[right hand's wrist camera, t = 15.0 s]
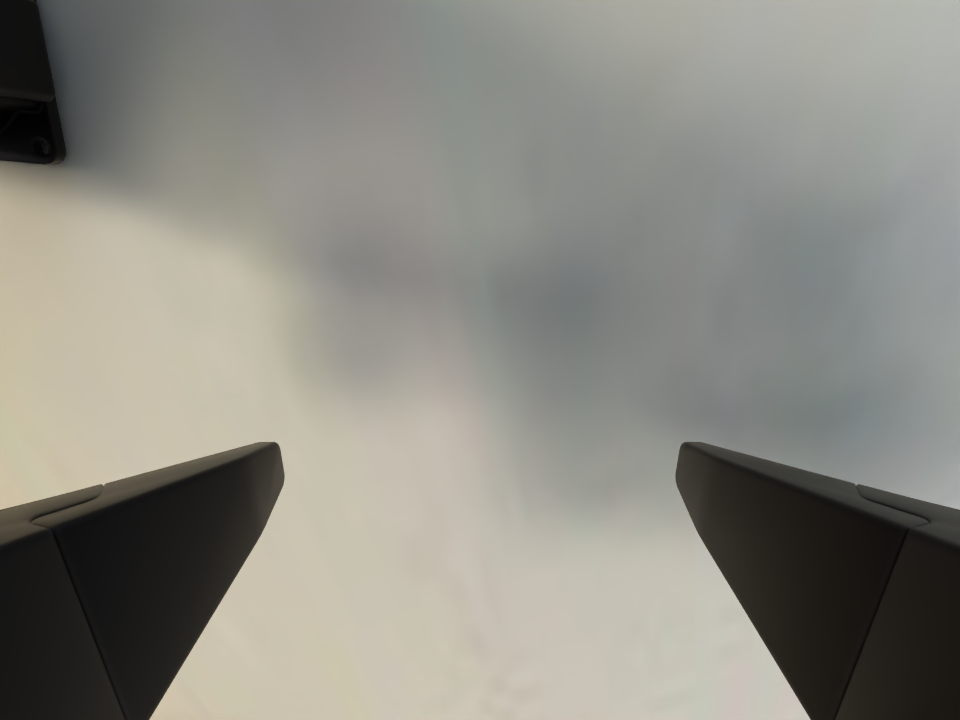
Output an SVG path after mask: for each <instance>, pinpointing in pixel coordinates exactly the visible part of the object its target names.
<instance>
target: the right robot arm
mask: <svg viewBox="0 0 960 720" xmlns="http://www.w3.org/2000/svg"><path fill="white" fill-rule="evenodd" d="M43 141H44V142H45V143H46V144H47V146H48V148H49V150H48V154H46V153H45V152H44V150H43V148H42V142H43ZM65 156H66V149H65V144H64V139H63V134H62V129H61V123H60V118H59V113H58V108H57V103H56V98H55V90H54V85H53V80H52V75H51V70H50V65H49V60H48V55H47V50H46V45H45V40H44V35H43V30H42V25H41V20H40V15H39V10H38V6H37V3H36V0H0V160H4V161H15V162H26V163H37V164H58V163H60V162H62V161H63V160H64V158H65ZM283 484H284V469H283V463H282V457H281V451H280V447H279V445H278V444H277V443H276V442H258V443H254V444H251V445H247V446H243V447H240V448H236V449H232V450H228V451H225V452H221V453H217V454H214V455H210V456H206V457H202V458H199V459H195V460H191V461H188V462H184V463H180V464H177V465H173V466H169V467H165V468H162V469H158V470H154V471H151V472H147V473H143V474H140V475H136V476H132V477H128V478H125V479H121V480H117V481H114V482H110V483H106V484H105V485H104V486H103V485H102V484H100V485H96V486H92V487H89V488H85V489H81V490H77V491H74V492H70V493H66V494H62V495H58V496H54V497H50V498H46V499H42V500H38V501H34V502H30V503H26V504H22V505H18V506H14V507H10V508H6V509H2V510H0V720H149V719H150V718H151V716H152V714H153V713H154V711H155V709H156V708H157V706H158V704H159V703H160V701H161V699H162V698H163V696H164V694H165V693H166V691H167V689H168V688H169V686H170V684H171V683H172V681H173V680H174V678H175V676H176V675H177V673H178V671H179V670H180V668H181V666H182V665H183V663H184V661H185V660H186V658H187V656H188V655H189V653H190V651H191V650H192V648H193V647H194V645H195V643H196V642H197V640H198V638H199V637H200V635H201V633H202V632H203V630H204V628H205V627H206V625H207V623H208V622H209V620H210V618H211V617H212V615H213V614H214V612H215V610H216V609H217V607H218V605H219V604H220V602H221V600H222V599H223V597H224V595H225V594H226V592H227V590H228V589H229V587H230V585H231V584H232V582H233V580H234V579H235V577H236V576H237V574H238V572H239V571H240V569H241V567H242V566H243V564H244V562H245V561H246V559H247V557H248V556H249V554H250V552H251V551H252V549H253V547H254V546H255V544H256V542H257V541H258V539H259V537H260V535H261V534H262V532H263V530H264V528H265V526H266V523H267V521H268V519H269V516H270V514H271V512H272V510H273V507H274V505H275V503H276V501H277V498H278V496H279V494H280V492H281V489H282V487H283ZM676 484H677V487H678V489H679V492H680V494H681V496H682V498H683V501H684V503H685V505H686V507H687V510H688V512H689V514H690V516H691V519H692V521H693V523H694V526H695V528H696V530H697V532H698V534H699V535H700V537H701V539H702V541H703V543H704V544H705V546H706V547H707V549H708V551H709V552H710V554H711V556H712V557H713V559H714V561H715V562H716V564H717V566H718V567H719V569H720V571H721V572H722V574H723V576H724V577H725V579H726V580H727V582H728V584H729V585H730V587H731V589H732V590H733V592H734V594H735V595H736V597H737V599H738V600H739V602H740V604H741V605H742V607H743V609H744V610H745V612H746V613H747V615H748V617H749V618H750V620H751V622H752V623H753V625H754V627H755V628H756V630H757V632H758V633H759V635H760V637H761V638H762V640H763V642H764V643H765V645H766V647H767V648H768V650H769V651H770V653H771V655H772V656H773V658H774V660H775V661H776V663H777V665H778V666H779V668H780V670H781V671H782V673H783V675H784V676H785V678H786V680H787V681H788V683H789V684H790V686H791V688H792V689H793V691H794V693H795V694H796V696H797V698H798V699H799V701H800V703H801V704H802V706H803V708H804V709H805V711H806V713H807V714H808V716H809V718H810V719H811V720H960V510H958V509H954V508H950V507H946V506H942V505H938V504H934V503H930V502H926V501H922V500H918V499H914V498H910V497H906V496H902V495H898V494H894V493H890V492H886V491H883V490H879V489H875V488H871V487H868V486H864V485H860V484H858V485H857V486H856V485H855V484H854V483H850V482H846V481H843V480H839V479H835V478H832V477H828V476H824V475H821V474H817V473H813V472H809V471H806V470H802V469H798V468H795V467H791V466H787V465H783V464H780V463H776V462H772V461H769V460H765V459H761V458H758V457H754V456H750V455H746V454H743V453H739V452H735V451H732V450H728V449H724V448H720V447H717V446H713V445H709V444H706V443H702V442H684V443H683V444H682V445H681V447H680V451H679V457H678V463H677V469H676Z"/></svg>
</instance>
